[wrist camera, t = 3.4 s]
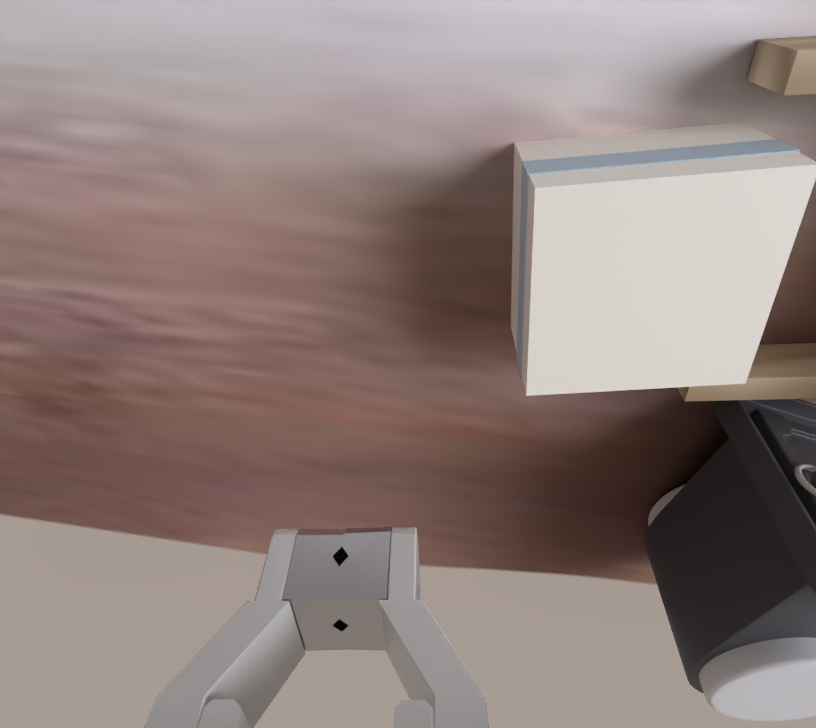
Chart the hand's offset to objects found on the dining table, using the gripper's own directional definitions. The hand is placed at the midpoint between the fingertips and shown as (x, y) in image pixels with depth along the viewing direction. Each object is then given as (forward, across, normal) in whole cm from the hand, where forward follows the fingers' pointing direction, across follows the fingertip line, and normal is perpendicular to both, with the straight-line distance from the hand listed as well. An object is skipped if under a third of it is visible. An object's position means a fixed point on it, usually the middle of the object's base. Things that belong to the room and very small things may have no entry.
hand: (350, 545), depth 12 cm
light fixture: (+14, -18, +14) cm, 27 cm away
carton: (+14, -9, -1) cm, 17 cm away
